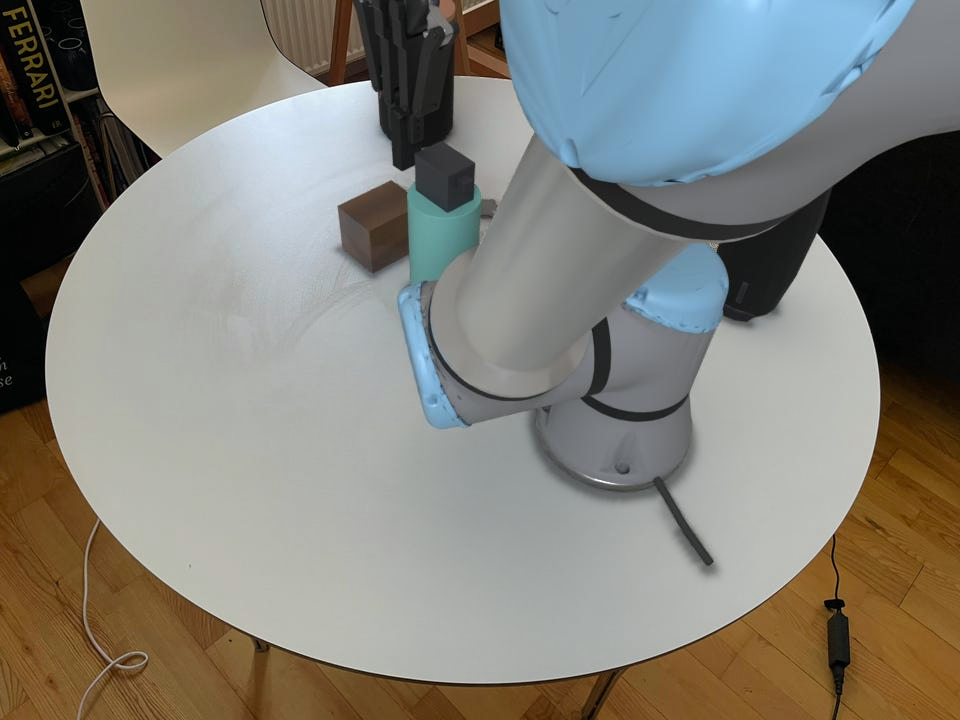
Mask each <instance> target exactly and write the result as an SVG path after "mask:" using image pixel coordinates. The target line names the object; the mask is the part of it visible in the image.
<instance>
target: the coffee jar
mask: <svg viewBox="0 0 960 720" xmlns="http://www.w3.org/2000/svg"><path fill="white" fill-rule="evenodd" d="M439 10H440V11H441V13H442V14H443V16H444V17H445V19H446V20H447V22H450V21H453V20H454V19H455V16H456V4H455V2H454V0H440V5H439ZM455 44H456V40H455V41H454V42H453V44H452V46H451V51H450V56H449V61H448V66H447V71H446V76H445V81H444V86H443V91H442V96H441V101H440V106H439V109H437V110H435V111H433V112H431V113H428V114H426V115H424V127H423V128H424V137H423V140H421V149H425V148H428V147H430V146H432V145H434V144H436V143H438V142H440V141H443V142H444V141H445V140H446V139H447V137H448V136H449V135H450V133H451V131H452V130H453V128H454V104H455V58H456V57H455V53H456V51H455V50H456V49H455V48H456V45H455ZM380 76H381V77H382V74H380ZM377 103H378V119H379V120H378V121H379V127H380V128H381V130H382V132H383V134H384V135H385V136H386V138H387V139H388V140H390V141H391V142H392V140H391V131H390V128H389V120H388V117H389V116H388V105H387V104H386V103H385V101H384V98H383V94H382V93H381V92H380V91H379V92H377Z"/></svg>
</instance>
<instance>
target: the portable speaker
mask: <svg viewBox="0 0 960 720" xmlns="http://www.w3.org/2000/svg"><path fill="white" fill-rule="evenodd" d="M833 187H834V185H833V186H832V187H830V188H829V189H827V190H826V191H825V192H823V193H822V194H821V195H819V196H818V197H817V198H815V199H814V200H812V201H811V202H810V203H808V204H807V205H806V206H804V207H803V208H801V209H800V210H799V211H797V212H796V213H794V214H793V215H792V216H790V217H789V218H788V219H786V220H784V221H783V222H781V223H779V224H777V225H776V226H774V227H773V228H771V229H769V230H767V231H765V232H762V233H760V234H758V235H756V236H753V237H749V238H745V239H742V240H738V241H733V242H725V243H718V245H717V248H716V250H715V251H716V253H717V254H718V255H719V257H720V258H721V260H722V261H723V263H724V265H725V268H726V271H727V274H728V279H729V288H728V293H727V296H726V300H725V303H724V306H723V309H722V310H723V316H725V318H729V319H731V320H733V321H737V322H745V323H747V322H750V321H751V320H753V319H755V318H760V317H763V316H767V315H768V314H770V313H772V312H773V311H774V310H776V308H777V306H778V305H779V303H780V302H781V300H782V299H783V297H784V296H785V295H786V293H787V291H788V290H789V289H790V286H792V284H793V282H794V281H795V279H796V278H797V276H798V274H799V272H800V270H801V267H802V265H803V263H804V262H805V259H806V257H807V255H808V254H809V252H810V249H811V247H812V245H813V243H814V241H815V238H816V236H817V235H818V232H819V230H820V228H821V226H822V223H823V221H824V217H825V213H826V211H827V207H828V204H829V201H830V197H831V194H832V190H833Z"/></svg>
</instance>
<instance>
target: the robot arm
mask: <svg viewBox="0 0 960 720" xmlns="http://www.w3.org/2000/svg"><path fill="white" fill-rule="evenodd" d="M351 2H352V4H353V7H354V9H355V12H356V18H357V21H358V26H359V32H360V36H361V41H362V46H363V50H364V55H365V60H366V64H367V70H368V76H369V79H370V84H371V88H372V90H373V91H374V92H375V93H378V92H379V91H380V92H381V93H382V94H383V98H384V101H385V103H386V104H387V105H388V116H389V117H388V120H389V128H390V131H391V140H392V141H391V140H390V141H391V157H392V160H391V161H392V166H393V167H395V168H396V169H397V170H399V171H400V172H404V171H407V170H409V169H411V168H413V167H415V153H417V152H419V151H421V150H422V148H421V140H423V137H424V128H423V127H424V115H426V114H428V113H431V112H433V111H435V110H437V109H439V106H440V101H441V96H442V91H443V86H444V81H445V76H446V71H447V66H448V61H449V56H450V51H451V46H452V44H453V42H454V41H455V42H456V39H457V37H458V36H459V35H460V32H461V28H460V25H459V23H458V22H457V21H456V20H454V19H452V20H453V21H450V22H447V20H446V19H445V17H444V16H443V14H442V13H441V11H440V10H439V5H440V0H351ZM498 3H499V19H500V27H501V35H502V41H503V47H504V53H505V57H506V62H507V63H506V64H507V68H508V71H509V76H510V79H511V82H512V86H513V89H514V91H515V95H516V98H517V100H518V103H519V106H520V107H521V110H522V112H523V114H524V116H525V118H526V120H527V122H528V124H529V126H530V128H531V129H532V130H533V134H532V136H531V138H530V140H529V142H528V144H527V146H526V148H525V150H524V153H523V155H522V156H521V159H520V161H519V163H518V165H517V167H516V169H515V171H514V173H513V175H512V177H511V179H510V181H509V184H508V185H507V187H506V190H505V191H504V193H503V196H502V198H501V200H500V201H499V203H498V206H497V207H496V212H495V214H494V216H493V217H492V218H491V220H490V222H489V225H488V227H487V228H486V230H485V232H484V235H483V237H482V239H481V241H480V242H479V245H476V246H474V247H472V248H470V249H468V250H466V251H465V252H463V253H462V254H460V255H459V256H458V257H457V258H456V259H454V260H453V261H452V262H451V263H450V264H449V265H448V266H447V268H446V269H445V270H444V272H443V273H442V275H441V276H440V278H439V280H436V281H430V282H429V281H427V280H424V281H422V282H421V281H419V282H418V283H417V284H414V285H411V286H410V285H408V286H405V287H403V288H401V290H399V291H398V294H397V297H396V303H397V308H398V314H399V319H400V322H401V327H402V332H403V335H404V337H403V338H404V340H405V345H406V350H407V354H408V358H409V362H410V366H411V370H412V374H413V377H414V382H415V385H416V388H417V389H416V390H417V393H418V397H419V400H420V401H419V402H420V405H421V409H422V411H423V414H424V417H425V418H424V419H425V420H426V422H427V423H428V424H429V426H431V427H433V428H435V429H437V430H448V429H454V428H459V427H460V428H463V429H467V428H470V427H472V426H473V425H475V424H478V423H482V422H487V421H490V420H494V419H495V420H496V419H499V418H503V417H507V416H511V415H515V414H519V413H523V412H528V411H532V410H536V409H537V410H536V416H535V425H536V427H535V428H536V433H537V437H538V440H539V442H540V444H541V447H542V448H543V450H544V451H545V454H546V455H547V456H548V457H549V459H550V460H551V461H552V462H553V463H554V465H556V466H557V467H558V468H559V470H561V471H562V472H564V473H565V474H566V475H567V476H570V477H571V478H573V479H574V480H576V481H578V482H580V483H581V484H584V485H587V486H588V487H589V486H590V487H592V488H594V489H599V490H603V491H609V492H616V493H617V492H618V493H629V492H630V493H631V492H638V491H643V490H648V489H650V488H653V487H656V489H657V490H658V492H659V494H660V495H661V497H662V499H663V500H664V502H665V504H666V506H667V508H668V509H669V511H670V512H671V514H672V517H673V518H674V520H675V521H676V523H677V525H678V526H679V528H680V529H681V532H682V533H683V535H684V536H685V537H686V539H687V540H688V541H689V543H690V545H691V546H692V547H693V549H694V550H695V552H696V553H697V554H698V556H699V557H700V558H701V560H702V562H703V563H704V564H705V566H707V567H708V566H711V565H712V564H714V562H715V561H714V559H713V557H712V556H711V555H710V553H709V552H708V551H707V550H706V548H705V547H704V545H703V544H702V543H701V541H700V540H699V538H698V537H697V536H696V533H694V531H693V530H692V528H691V527H690V525H689V523H688V522H687V520H686V519H685V517H684V516H683V514H682V512H681V510H680V508H679V506H678V505H677V503H676V502H675V500H674V497H672V495H671V493H670V491H669V490H668V488H667V486H666V485H665V483H664V482H665V481H666V480H668V479H669V478H671V477H672V476H673V475H674V474H675V473H676V472H677V471H678V470H679V468H680V467H681V465H682V464H683V463H684V460H685V458H686V457H687V453H688V451H689V448H690V445H691V442H692V436H693V419H692V409H691V397H690V393H691V390H692V388H693V386H694V383H695V382H696V378H697V377H698V374H699V371H700V369H701V366H702V364H703V362H704V359H705V357H706V354H707V352H708V349H709V347H710V345H711V342H712V341H713V338H714V335H715V333H716V331H717V329H718V327H719V325H720V323H721V322H722V319H723V316H724V315H723V310H722V309H723V306H724V303H725V300H726V296H727V293H728V288H729V279H728V274H727V271H726V268H725V265H724V263H723V261H722V260H721V258H720V257H719V255H718V254H717V253H716V251H717V250H715V249H714V248H713V247H712V246H711V244H712V245H715V244H719V243H725V242H733V241H738V240H742V239H745V238H749V237H753V236H756V235H758V234H760V233H762V232H765V231H767V230H769V229H771V228H773V227H774V226H776V225H777V224H779V223H781V222H783V221H784V220H786V219H788V218H789V217H790V216H792V215H793V214H794V213H796V212H797V211H799V210H800V209H801V208H803V207H804V206H806V205H807V204H808V203H810V202H811V201H812V200H814V199H815V198H817V197H818V196H819V195H821V194H822V193H823V192H825V191H826V190H827V189H829V188H830V187H832V186H833V187H834V185H836V184H837V183H839V182H840V181H842V180H843V179H844V178H845V177H847V176H848V175H850V174H851V173H852V172H854V171H855V170H857V169H858V168H859V167H861V166H862V165H864V164H865V163H866V162H868V161H870V160H871V159H873V158H875V157H876V156H878V155H880V154H883V153H884V152H886V151H888V150H890V149H894V148H895V147H897V146H900V145H902V144H904V143H907V142H910V141H913V140H915V139H918V138H919V139H920V138H921V137H922V138H923V137H929V136H932V135H939V134H944V133H950V132H951V133H952V132H955V131H960V0H498ZM380 74H382V77H381V76H380ZM833 187H832V188H833Z"/></svg>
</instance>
